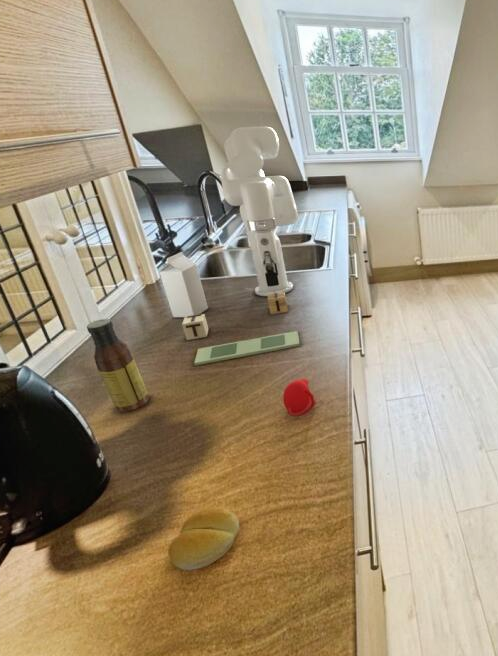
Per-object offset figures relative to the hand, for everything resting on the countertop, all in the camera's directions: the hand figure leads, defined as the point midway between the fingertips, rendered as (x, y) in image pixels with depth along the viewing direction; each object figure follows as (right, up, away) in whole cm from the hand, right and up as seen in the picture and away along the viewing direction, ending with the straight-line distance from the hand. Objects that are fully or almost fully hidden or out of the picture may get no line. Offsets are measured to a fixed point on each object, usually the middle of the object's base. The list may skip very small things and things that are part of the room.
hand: (273, 280), depth 137 cm
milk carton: (-28, -10, +5) cm, 30 cm away
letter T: (-17, -16, -10) cm, 25 cm away
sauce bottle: (-15, -29, -40) cm, 52 cm away
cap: (+23, -29, -43) cm, 57 cm away
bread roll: (+18, -42, -72) cm, 85 cm away
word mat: (+1, -19, -18) cm, 26 cm away
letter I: (0, -9, +4) cm, 10 cm away
